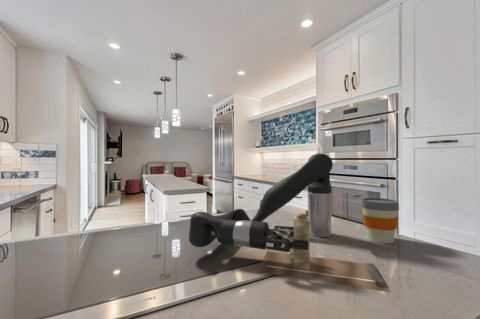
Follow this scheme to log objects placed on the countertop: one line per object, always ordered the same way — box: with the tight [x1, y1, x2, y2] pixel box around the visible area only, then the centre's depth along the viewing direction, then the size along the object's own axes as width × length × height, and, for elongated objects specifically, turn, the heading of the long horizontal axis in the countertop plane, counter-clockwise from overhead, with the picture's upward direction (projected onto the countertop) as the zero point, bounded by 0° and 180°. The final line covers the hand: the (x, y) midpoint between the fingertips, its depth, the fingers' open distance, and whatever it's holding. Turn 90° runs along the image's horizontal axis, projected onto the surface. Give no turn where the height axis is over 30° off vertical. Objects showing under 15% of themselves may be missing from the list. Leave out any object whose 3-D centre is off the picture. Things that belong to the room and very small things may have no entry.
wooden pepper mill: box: [293, 212, 311, 270], centre depth 63 cm, size 4×4×14 cm
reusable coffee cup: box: [360, 197, 400, 244], centre depth 89 cm, size 13×13×15 cm
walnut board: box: [256, 251, 391, 293], centre depth 62 cm, size 30×14×2 cm, turn 72°
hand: (308, 240), depth 62 cm, fingers open, 8 cm apart
